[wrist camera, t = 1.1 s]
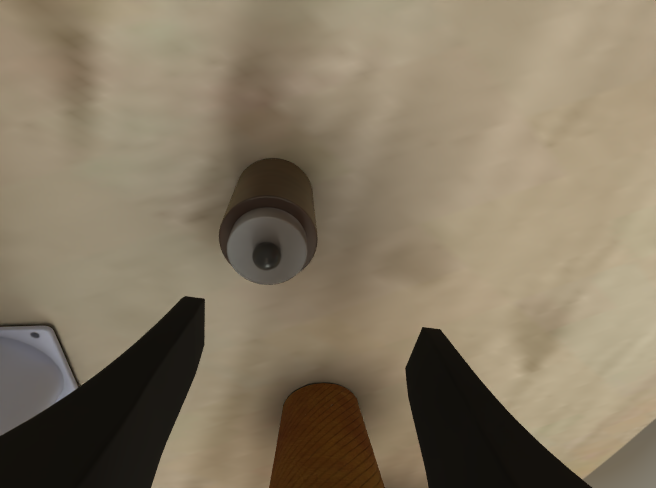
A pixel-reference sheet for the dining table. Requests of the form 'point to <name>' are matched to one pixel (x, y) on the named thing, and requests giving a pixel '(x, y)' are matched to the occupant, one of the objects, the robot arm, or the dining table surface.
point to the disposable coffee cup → (323, 442)
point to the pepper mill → (270, 223)
